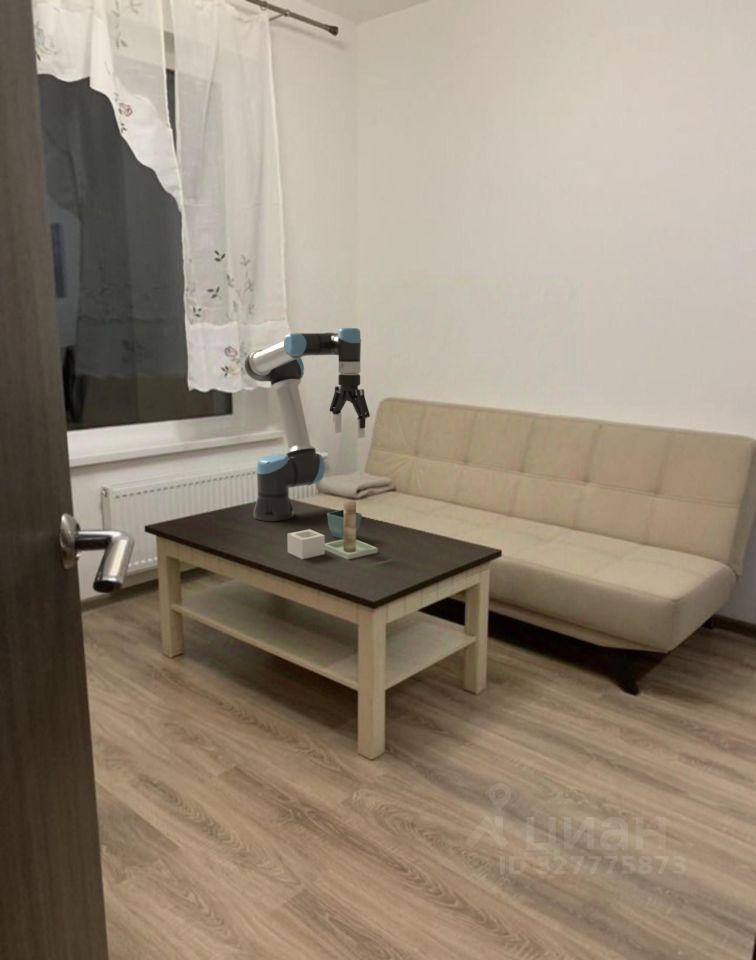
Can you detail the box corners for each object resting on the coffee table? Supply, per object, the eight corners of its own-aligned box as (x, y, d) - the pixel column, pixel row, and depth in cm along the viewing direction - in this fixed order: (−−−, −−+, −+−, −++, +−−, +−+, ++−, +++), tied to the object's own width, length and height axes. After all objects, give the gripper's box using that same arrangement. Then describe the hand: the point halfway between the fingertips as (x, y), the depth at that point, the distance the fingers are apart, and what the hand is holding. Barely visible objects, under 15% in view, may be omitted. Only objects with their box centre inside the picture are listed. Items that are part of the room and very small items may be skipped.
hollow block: (287, 554, 243) (287, 533, 241) (309, 549, 248) (309, 529, 247) (302, 561, 236) (302, 540, 235) (324, 556, 242) (324, 535, 240)
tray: (322, 550, 247) (322, 543, 247) (351, 544, 255) (351, 537, 254) (347, 561, 237) (347, 554, 236) (377, 554, 244) (377, 547, 244)
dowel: (341, 549, 246) (341, 502, 242) (350, 547, 248) (351, 500, 245) (348, 552, 243) (348, 504, 239) (358, 550, 245) (358, 503, 242)
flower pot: (345, 533, 267) (345, 508, 265) (362, 538, 261) (362, 513, 259) (326, 538, 261) (326, 513, 259) (343, 543, 255) (343, 518, 253)
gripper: (319, 371, 266) (320, 431, 270) (362, 376, 247) (362, 440, 251) (337, 370, 270) (337, 429, 275) (380, 376, 251) (379, 438, 256)
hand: (349, 435), depth 263 cm, fingers open, 13 cm apart
